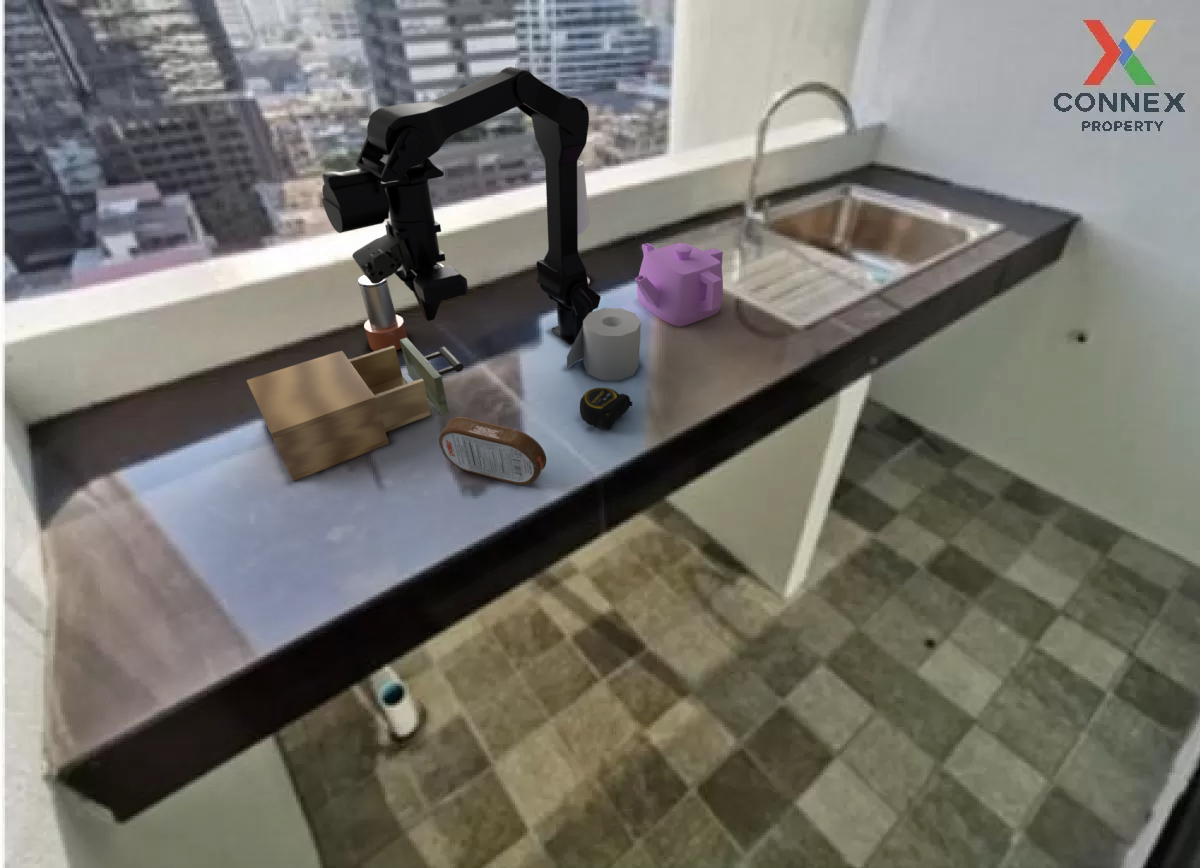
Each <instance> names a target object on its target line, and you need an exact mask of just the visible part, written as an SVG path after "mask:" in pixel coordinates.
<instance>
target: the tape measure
mask: <svg viewBox="0 0 1200 868" xmlns="http://www.w3.org/2000/svg"><path fill="white" fill-rule="evenodd" d="M633 402H634V401H631V397H630V396H629V395H627V394H625V393H619V392H617V391H616V390H614V389H612V388H609V387H594V388H590V389H588V390H587V391H585V392H584V394H582V396H581V398H580V401H579V414H580V417H581V419H582V420H583V422H585V423H586V424H587V425H589V426H592V427H596V428H600V429H603V430H610V429H612V428H613V427H614V425H615V424H616V422H617V421H619V419H620V418H621V417H622V416H623V415H625V413H626V412H627V411H628V410H629V409H630V407H632V406H633Z"/></svg>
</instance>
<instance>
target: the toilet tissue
mask: <svg viewBox="0 0 1200 868" xmlns="http://www.w3.org/2000/svg"><path fill="white" fill-rule="evenodd" d="M641 330H642V321H641V320H640V318H639V316H638V315H637V313H635V312H632V311H629V310H626V309H624V308H622V307H621V308H620V307H602V308H598V309H595V310H593V311H592V312H590V313H589V314H588V315H587V316H586V318H585V319H584V320H583V326H582V328H581V330H580V332H579V334H578V336H577V338H576V340H575V342H574V344H572V345H571V348H570V350H569V352H568V353H567V355H566V369H568V368H570V367H571V366H572V365H574V363H576V362H579V361H581V360H583V366H584V369H585V370H586V373H587V374H588V375H589V376H592V377H594V378H596V379H598V380H600V381H610V382H611V381H612V382H614V381H615V382H617V381H623V380H625V379H627V378H630V377H633V376H634V375H635V373H636V371H637V370H638V368H639V365H640V349H641V347H640V346H641V332H642V331H641Z"/></svg>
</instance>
